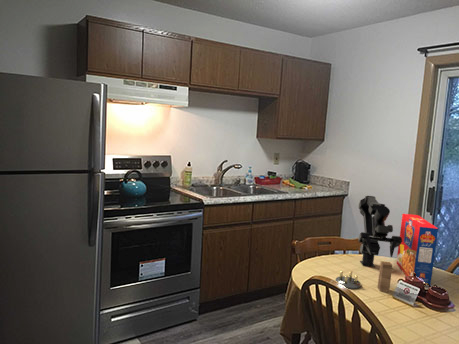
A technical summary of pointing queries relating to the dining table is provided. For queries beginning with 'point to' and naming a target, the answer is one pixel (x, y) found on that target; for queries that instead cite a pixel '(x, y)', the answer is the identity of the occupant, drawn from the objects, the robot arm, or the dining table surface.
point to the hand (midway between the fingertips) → (381, 255)
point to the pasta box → (417, 247)
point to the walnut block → (384, 276)
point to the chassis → (348, 281)
